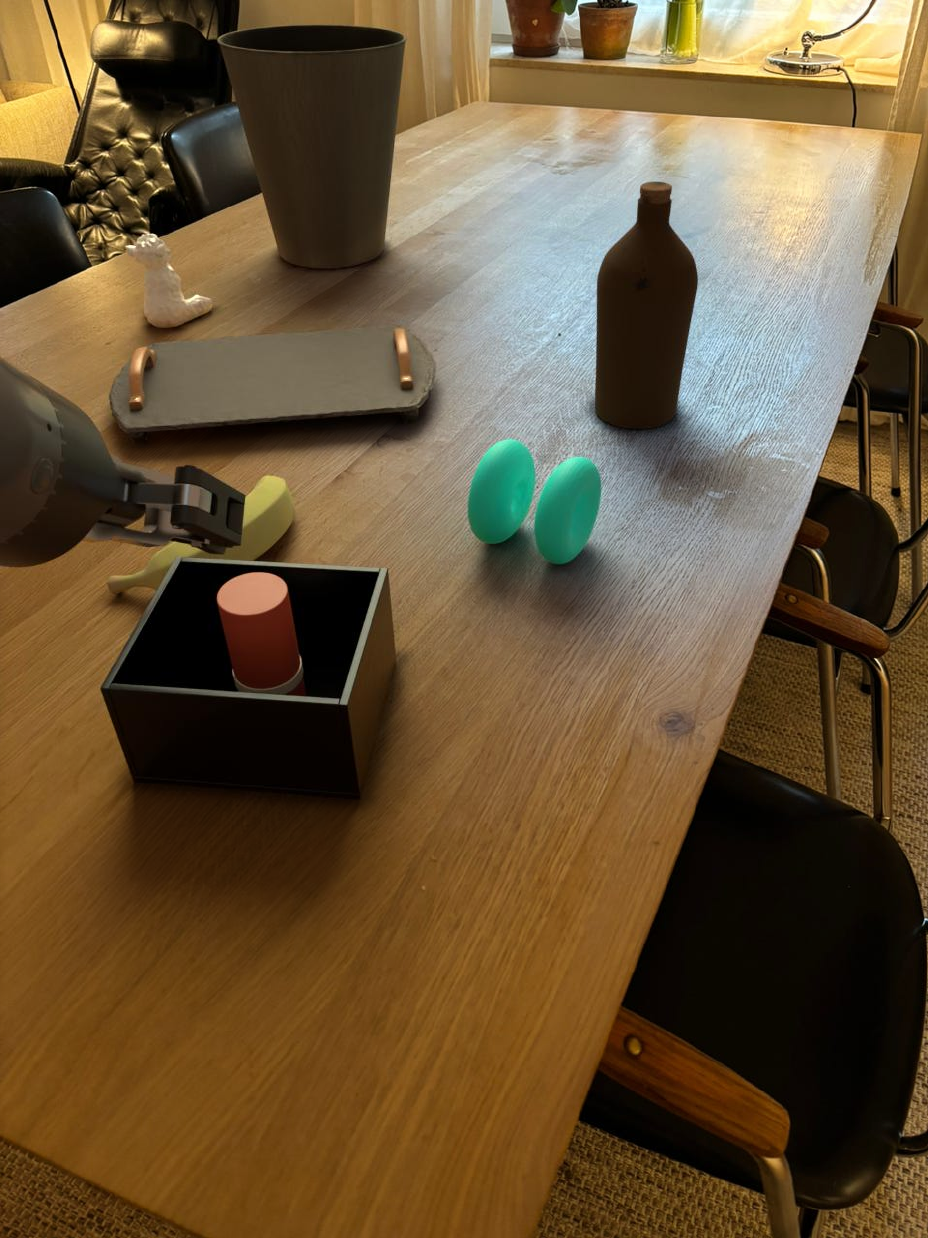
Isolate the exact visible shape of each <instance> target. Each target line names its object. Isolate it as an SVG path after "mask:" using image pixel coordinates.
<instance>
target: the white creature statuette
mask: <svg viewBox="0 0 928 1238" xmlns="http://www.w3.org/2000/svg"><path fill="white" fill-rule="evenodd" d="M124 247H125V249H126V251H127V254H128V256H129V257H130V258H134V261H135V262H136V263H138V264H140V265H141V266H143V267H144V268H145V269H147V270H146V271H145V276H144V277H143V288H144V297H143V302H142V303H143V308H142V311H143V314H144V316H145V318H146V321H147V322H148V323H149V324H151V325H152V326H153V327H156V328H160V329H162V328H163V329H169V328H175V327H176V328H177V327H178V326H182V325H183V324H184V323H188V322H190V321H192V320H193V319H194V320H195V319H196V318H198V317H200V316H202V315H206V314H207V313H210V310H211V309H212V308H213V305H214V304H213V301H212V299H211V298H210V297H206V296H202V295H200V294H194V295H193V296H191V297H190V298H186V299H185V295H184V294H183V293H182V286H181V283H182V278H181V277H180V275H178V274H177V273H176V271H175V269H174V268H173V266H171V264H170V263H169V262H170V261H171V260H172V257H171V250H170V249H169V248H168V247H167V244H166V243H165V242H164V241H163V239H161V238H159V237H158V235H157V234H154V233H146V234H144V233H143V234H141V236H139V237H137V239H136V242H135V245H125V246H124Z"/></svg>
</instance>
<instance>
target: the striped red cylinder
mask: <svg viewBox="0 0 928 1238" xmlns="http://www.w3.org/2000/svg"><path fill="white" fill-rule="evenodd" d="M217 604H218V608H219V612H220V617H221V621H222V625H223V629H224V634H225V638H226V642H227V646H228V651H229V655H230V659H231V663H232V668H233V669H232V674H233V678H234V682H235V686H236V688H237V689H238V692H247V693H262V694H276V695H291V696H306V690H305V685H304V679H303V665H302V660H301V657H300V655H299V650H298V645H297V639H296V633H295V627H294V622H293V616H292V610H291V604H290V599H289V593H288V588H287V585H286V583H285V582H284V581H283V580H282V579H281V578H280V577H278V576H276V575H273V574H270V573H263V572H255V573H247V574H243V575H240V576H237V577H235V578H233V579H231V580H229V581H228V582H226V583H225V584H224V585H223V586H222V587H221V588H220V590H219V592H218V594H217ZM306 697H307V696H306Z"/></svg>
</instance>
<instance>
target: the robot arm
mask: <svg viewBox="0 0 928 1238" xmlns="http://www.w3.org/2000/svg"><path fill="white" fill-rule="evenodd" d="M246 496H247V495H246V494H244V493H243V492H241V491H239V490H238V489H236V488H235V487H232V486H231V485H229V484H227V483H226V482H225V481H223V480H220V479H219V478H218V477H216V476H214V475H212V474H211V473H209V472H207V471H205V470H204V469H201V468H197V466H196V465H191V464H184V465H182V466H180V465H179V466H176V467H175V471H174V476H173V475H172V474H170V473H167V472H163V471H159V470H155V469H151V468H147V467H143V466H138V465H135V464H130V463H127V462H123V461H122V460H121V458H119V457H118V456H117V455H116V454H112V453H110V451H109V449H108V447H107V445H106V442H105V440H104V438H103V436H102V434H101V432H100V430H99V428H98V427H97V426H96V424H95V422H94V421H93V420H92V418H91V417H90V416H89V415H88V414H87V413H86V412H85V411H84V410H83V409H82V408H81V407H79V406H78V405H77V403H75V402H73V401H71V400H70V399H69V398H67V397H65V396H64V395H62V394H61V393H59V392H57V391H55V390H54V389H53V388H51V387H49V386H48V385H46V384H45V383H43V382H42V381H40V380H38V379H36V378H35V377H34V376H32V375H30V374H29V373H27V372H26V371H25V370H22V369H21V368H19V367H17V366H16V365H14V364H13V363H12V362H9V361H8V360H6V359H5V358H4V357H2V356H0V567H4V568H5V567H6V568H29V567H35V566H40V565H43V564H46V563H49V562H51V561H53V560H56V559H58V558H60V557H62V556H63V555H65V554H66V553H68V552H70V551H71V550H72V549H73V548H75V547H76V546H77V545H79V544H80V543H81V542H85V543H86V542H87V543H91V544H92V543H103V542H107V541H112V542H115V543H117V542H118V543H122V544H127V545H133V546H139V547H144V548H155V547H166V546H168V545H169V544H170V542H179V543H184V544H189V545H191V547H195V548H198V549H200V550H203V551H205V552H207V553H209V554H221V555H223V554H224V553H225V551H226V548H233V546H241V539H242V529H243V518H244V508H245V506H244V505H245V497H246ZM143 517H144V521H143V528H142V530H138V529H133V528H128V526H131V525H132V524H134V523H135V522H138V521H139V520H141V519H142V518H143Z"/></svg>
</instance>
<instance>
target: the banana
mask: <svg viewBox="0 0 928 1238" xmlns="http://www.w3.org/2000/svg"><path fill="white" fill-rule="evenodd" d="M244 506H245V508H244V518H243V529H242V539H241V546H233V548H226V551H225V553H224V554H223V555H221V554H209V553H207V552H205V551H203V550H200V549H198V548H195V547H191V545H189V544H184V543H179V542H174V541H172V542H171V543H168V544H167V545H165V546H164V547H163V548H162V549H160V550H159V551H157V552H156V553H155V554H154V555H153V556H152V557H151V558H150V559H149V561H148V562H147V564H146V566H145V568H144V569H143V570H141V571H139V572H136V573H134V574H130V575H110V576H109V577H108V579H107V583H106V584H107V588H108V590H109V592H110V593H111V594H112V595H118V594H121V593H122V592H124V591H126V590H129V589H133V588H149V589H152V590H155V591H156V590H157V589H158V587H159V585H160V584H161V582H162V580H163V578H164V577H165V575H166V573H167V571H168V570H169V568H170V566H171V564H172V563H173V561H174V559H175V558H176V557H182V558H183V557H186V558H205V559H224V560H242V561H256V560H257V559H258V558H259V557H261V556H262V555H263V554H265V553H266V552H267V551H268V550H270V549H271V548H272V547H273V546H274V545H275V544H276V543H277V542H278V541H279V540H280V539H281V538H282V537H283V536H284V534H285V533H286V532H287V531H288V529H289V528H290V526H291V525H292V523H293V521H294V519H295V515H296V506H295V502H294V499H293V495H292V493H291V491H290V488H289V486H288V483H287V482H286V480H285V479H284V478H282V477H279V476H275V475H264V476H262V477H261V478H260V479H259V480H258V481H257V483H256V484H255V485H254V488H253V489H252V490H251V492H249V493H248V494H247V495H246V497H245V505H244Z"/></svg>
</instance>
